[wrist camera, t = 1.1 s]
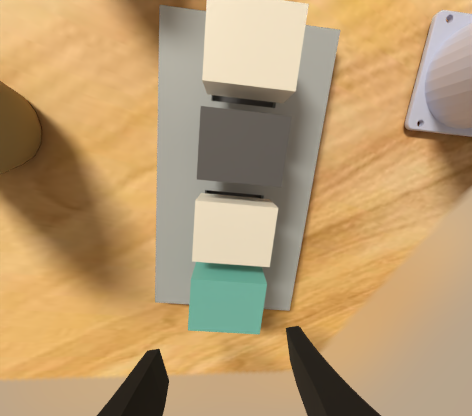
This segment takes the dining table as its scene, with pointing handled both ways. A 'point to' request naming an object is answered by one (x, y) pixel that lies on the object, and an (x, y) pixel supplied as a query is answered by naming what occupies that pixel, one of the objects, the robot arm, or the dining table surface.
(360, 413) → the robot arm
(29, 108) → the squeeze bottle
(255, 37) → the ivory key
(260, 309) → the teal key
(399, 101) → the dining table surface
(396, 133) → the dining table surface
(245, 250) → the middle ivory key
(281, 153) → the dark gray key
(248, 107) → the selector panel
